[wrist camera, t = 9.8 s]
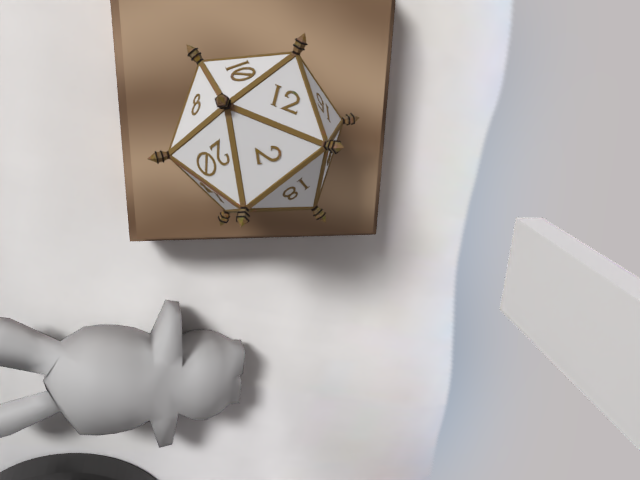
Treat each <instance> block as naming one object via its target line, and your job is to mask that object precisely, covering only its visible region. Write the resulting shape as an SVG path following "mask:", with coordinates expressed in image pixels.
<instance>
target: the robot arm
mask: <svg viewBox="0 0 640 480" xmlns="http://www.w3.org/2000/svg"><path fill="white" fill-rule="evenodd" d="M500 311H501V312H502V313H503V314H505V316H506V317H507V318H508V319H509V320H510V321H511V322H512V323H513V324H514V325H515V326H516V327H517V328H518V329H519V330H520V331H521V332H522V333H523V334H524V335H525V336H526V337H527V338H528V339H529V340H530V341H531V342H532V343H533V344H534V345H535V346H536V347H537V348H538V349H539V350H540V351H541V352H542V353H543V354H544V355H545V356H546V357H547V358H548V359H549V360H550V361H551V362H552V363H553V364H554V365H555V366H556V367H557V368H558V369H559V370H560V371H561V372H562V373H563V374H564V375H565V376H566V377H567V378H568V379H569V380H570V381H571V382H572V383H573V384H574V385H575V386H576V387H577V388H578V389H579V390H580V391H581V392H582V393H583V394H584V395H585V396H586V397H587V398H588V399H589V400H590V401H591V402H592V403H593V404H594V405H595V406H596V407H597V408H598V409H599V410H600V411H601V412H602V413H603V414H604V415H605V416H606V417H607V418H608V419H609V420H610V421H611V422H612V424H613V425H615V427H616V428H617V429H618V430H619V431H620V432H621V433H622V434H623V435H625V437H626V438H627V439H628V440H629V441H631V443H632V444H633V445H634V446H635V447H636V448H637V449H638V450H639V451H640V278H639V277H638V276H636V275H634V274H633V273H631V272H630V271H628V270H626V269H625V268H623V267H621V266H620V265H618V264H617V263H615V262H613V261H611V260H610V259H608V258H607V257H605V256H604V255H602V254H601V253H599V252H597V251H595V250H594V249H592V248H591V247H589V246H588V245H586V244H584V243H583V242H581V241H580V240H578V239H576V238H574V237H573V236H571V235H570V234H568V233H567V232H565V231H563V230H562V229H560V228H558V227H557V226H555V225H554V224H552V223H550V222H549V221H547V220H546V219H544V218H542V217H528V218H516V220H515V226H514V231H513V237H512V243H511V248H510V254H509V260H508V266H507V271H506V276H505V282H504V287H503V293H502V299H501V304H500ZM0 480H155V479H154V478H153V477H152V476H150V475H149V474H147V473H146V472H144V471H143V470H141V469H139V468H137V467H135V466H133V465H131V464H129V463H126V462H123V461H121V460H117V459H114V458H110V457H106V456H100V455H94V454H82V453H66V454H55V455H48V456H43V457H38V458H34V459H31V460H27V461H24V462H22V463H19V464H16V465H14V466H12V467H10V468H8V469H6V470H4V471H2V472H0Z"/></svg>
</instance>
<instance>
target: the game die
mask: <svg viewBox="0 0 640 480" xmlns="http://www.w3.org/2000/svg"><path fill="white" fill-rule="evenodd" d="M295 40H296V41H295V43H294V44H293V46H294V48H293V51H291V52H280V53H270V54H259V55H248V56H238V57H227V58H217V59H206V60H204V59H203V58H202V56H201V52H199V51H198V50H197V49H198V48H195V47H192V46H190V45H187V44H186V45H187V51H188V55H187V56H188V57H190V58H191V61H194V62H196V63H197V67H196V70H195V73H194V76H193V79H192V82H191V85H190V88H189V91H188V94H187V97H186V100H185V103H184V106H183V108H182V111H181V114H180V117H179V120H178V123H177V126H176V129H175V132H174V135H173V138H172V141H171V144H170V147H169V150H168V151H167V152H164V151H162V150H160V152H156V151H155V152H154V153H153V154H152V155H151V156H150V157H149V158H147V159H148V160H151V161H153V162H156V163H157V164H159V162H163V163H164V161H165V160H167V159H170V160H171V161H173V162H174V163H175V164H176V165H177V166H178V167H179V168H180V169H181V170H182V171H183V172H184V173H185V174H186V175H187V176H188V177H189V178H190V179H191V180H192V181H194V182H195V183H196V184H197V185H198V186H199V187H200V188H201V189H202V190H203V191H204V192H205V193H206V194H207V195H208V196H209V197H210V198H211V199H212V200H213V201H215V202H216V203H217V204H218V205H219V206H220V207H221V208H222V209H223V211H222V212H220V216H218V219H219V222H220V226H221V225H223V224H225V223H227V222H228V221H229V218H230V213H237V216H236V222H238V224H239V226H240V228H241V227H242V226H243V225H244V224H246V223H248V222H249V221H250V220H249V217H250V215H249V213H248V212H266V211H293V210H312V211H313V214H314V215H313V216H315V217H316V220H320V221H323V222H326V215H325V214H326V212H324V211H323V209H321V208H319V207H318V206H317V204H318V201H319V198H320V195H321V192H322V189H323V186H324V183H325V179H326V176H327V173H328V170H329V167H330V164H331V161H332V158H333V155H334V153H335V154H337V153H338V152H339V151H340V150H341V149H343V148H344V147H343V145H342V144H341V141H338V139H339V136H340V133H341V130H342V127H343V124H346V125H350V124H351V125H353V124H355V122H356V121H357V120H358V119H359V117H357V116H355V115H353V114H352V113H350V114H349V115H347V114H346V115H345V116H344V117H341V116H340V114H339V113H338V111H337V110H336V108H335V107H334V105H333V104H332V103H331V101H330V100H329V98H328V97H327V95H326V94H325V92H324V91H323V89H322V88H321V86H320V85H319V83H318V82H317V80H316V79H315V77H314V76H313V74H312V73H311V71H310V70H309V68H308V67H307V65H306V64H305V62H304V61H303V59H302V58H301V56H300V53H301V52H302V51H303V50H304V51H305V49H304V48H305V46H306V45H308V44H307V43H306V36H305V33H304V34H302V35H301V36H300V37H298V38H296V39H295Z"/></svg>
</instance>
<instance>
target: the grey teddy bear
mask: <svg viewBox="0 0 640 480" xmlns="http://www.w3.org/2000/svg"><path fill="white" fill-rule="evenodd" d="M244 359H245V350H244V347H243V344H242V341H241V340H231V339H229V338H228V337H226V336H224V335H222V334H220V333H218V332H215V331H212V330H206V329H202V330H193V331H188V332H186V333H185V334H183V335H182V316H181V311H180V306H179V302H177V301H170V300H165V302H164V304H163V306H162V308H161V311H160V313H159V315H158V317H157V320H156V322H155V324H154V326H153V329H152V331H151V333H150V334H149V333H147V332H144V331H142V330H139V329H137V328H134V327H128V326H121V325H94V326H85V327H83V328H81V329H79V330H78V331H76V332H74V333H73V334H71V335H70V336H68V337H66V338H65V339H63V340H61V341H59V340H56V339H54V338H52V337H50V336H48V335H45V334H43V333H41V332H39V331H37V330H34V329H32V328H30V327H28V326H26V325H24V324H21V323H19V322H17V321H15V320H13V319H10V318H4V317H0V366H3V367H8V368H13V369H18V370H23V371H29V372H34V373H39V374H44V375H45V376H44V380H43V381H44V384H45V387H46V389H47V391H45V392H41V393H38V394H34V395H30V396H27V397H23V398H20V399H16V400H13V401H9V402H6V403H2V404H0V438H1V437H5V436H9V435H11V434H13V433H16V432H18V431H20V430H22V429H24V428H26V427H28V426H31V425H33V424H35V423H37V422H39V421H41V420H43V419H46V418H48V417H50V416H52V415H54V414H56V413H58V412H61V413H62V414H63V415H64V416H65V418H66V419H67V420H68V421H69V422H70V424H71V425H72V426H73V427H74V428H75V429H76V431H77V432H78V433H79V434H80V435H106V434H115V433H119V432H124V431H128V430H132V429H134V428H136V427H138V426H140V425H142V424H144V423H146V422H148V421H151V424H152V427H153V431H154V434H155V437H156V440H157V443H158V446H159V448H160V447H164V446H167V445H171V444H172V442H173V437H174V433H175V428H176V424H177V419H178V413H179V414H181V415H183V416H186V417H188V418H190V419H192V420H206V419H208V418H211V417H213V416H215V415H217V414H219V413H220V412H221V411H222V410H224V409H225V408H226V407H227V406H228V405H229V404H236V403H239V400H240V392H241V384H242V382H241V379H240V376H239V375H241V374H243V367H244Z"/></svg>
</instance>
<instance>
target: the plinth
mask: <svg viewBox="0 0 640 480" xmlns="http://www.w3.org/2000/svg"><path fill="white" fill-rule="evenodd" d="M110 3H111V15H112V27H113V39H114V52H115V64H116V76H117V88H118V101H119V113H120V125H121V137H122V150H123V162H124V174H125V187H126V199H127V211H128V223H129V236H130V241H158V240H194V239H229V238H265V237H300V236H336V235H371V234H376V228H377V216H378V204H379V192H380V180H381V168H382V156H383V144H384V132H385V120H386V108H387V96H388V84H389V72H390V60H391V48H392V36H393V24H394V12H395V0H110ZM304 33H305V36H306V43H307V44H308V45H306V46H305V48H304V49H305V51H304V50H303V51H302V52H301V53H300V56H301V58H302V59H303V61H304V62H305V64H306V65H307V67H308V68H309V70H310V71H311V73H312V74H313V76H314V77H315V79H316V80H317V82H318V83H319V85H320V86H321V88H322V89H323V91H324V92H325V94H326V95H327V97H328V98H329V100H330V101H331V103H332V104H333V105H334V107H335V108H336V110H337V111H338V113H339V114H340V116H341V117H344V116H345V115H346V114H347V115H349V114H350V113H352V114H353V115H355V116H357V117H359V119H358V120H357V121H356V122H355V124H353V125H351V124H350V125H346V124H343V127H342V130H341V133H340V136H339V139H338V141H341V144H342V145H343V147H344V148H343V149H341V150H340V151H339V152H338V153H337V154H335V153H334V155H333V158H332V161H331V164H330V167H329V170H328V173H327V176H326V179H325V183H324V186H323V189H322V192H321V195H320V198H319V201H318V204H317V206H318V207H319V208H321V209H323V211H324V212H326V214H325V215H326V222H323V221H320V220H316V217H315V216H313V215H314V214H313V211H312V210H293V211H266V212H248V213H249V215H250V217H249V220H250V221H249V222H248V223H246V224H244V225H243V226H242V227H241V228H240V226H239V224H238V222H236V216H237V213H230V218H229V221H228V222H227V223H225V224H223V225H221V226H220V222H219V219H218V216H220V212H222V211H223V209H222V208H221V207H220V206H219V205H218V204H217V203H216V202H215V201H213V200H212V199H211V198H210V197H209V196H208V195H207V194H206V193H205V192H204V191H203V190H202V189H201V188H200V187H199V186H198V185H197V184H196V183H195V182H194V181H192V180H191V179H190V178H189V177H188V176H187V175H186V174H185V173H184V172H183V171H182V170H181V169H180V168H179V167H178V166H177V165H176V164H175V163H174V162H173V161H171V160H170V159H167V160H165V161H164V163H163V162H159V164H157V163H156V162H153V161H151V160H148V159H147V158H149V157H150V156H151V155H152V154H153V153H154V152H155V151H156V152H160V150H162V151H164V152H167V151H168V150H169V147H170V144H171V141H172V138H173V135H174V132H175V129H176V126H177V123H178V120H179V117H180V114H181V111H182V108H183V106H184V103H185V100H186V97H187V94H188V91H189V88H190V85H191V82H192V79H193V76H194V73H195V70H196V67H197V63H196V62H194V61H191V58H190V57H188V56H187V55H188V51H187V45H190V46H192V47H195V48H198V49H197V50H198V51H199V52H201V56H202V58H203V59H204V60H206V59H217V58H227V57H238V56H248V55H259V54H270V53H280V52H291V51H293V48H294V46H293V44H294V43H295V41H296V40H295V39H296V38H298V37H300V36H301V35H302V34H304ZM186 44H187V45H186Z"/></svg>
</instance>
